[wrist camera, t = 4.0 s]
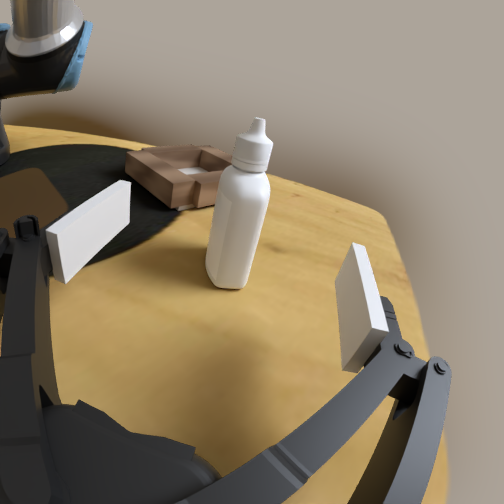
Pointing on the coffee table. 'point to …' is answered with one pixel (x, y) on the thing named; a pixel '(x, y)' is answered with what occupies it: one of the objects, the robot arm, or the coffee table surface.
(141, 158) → the socket block
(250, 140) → the eye dropper bottle
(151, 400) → the coffee table surface
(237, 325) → the coffee table surface
